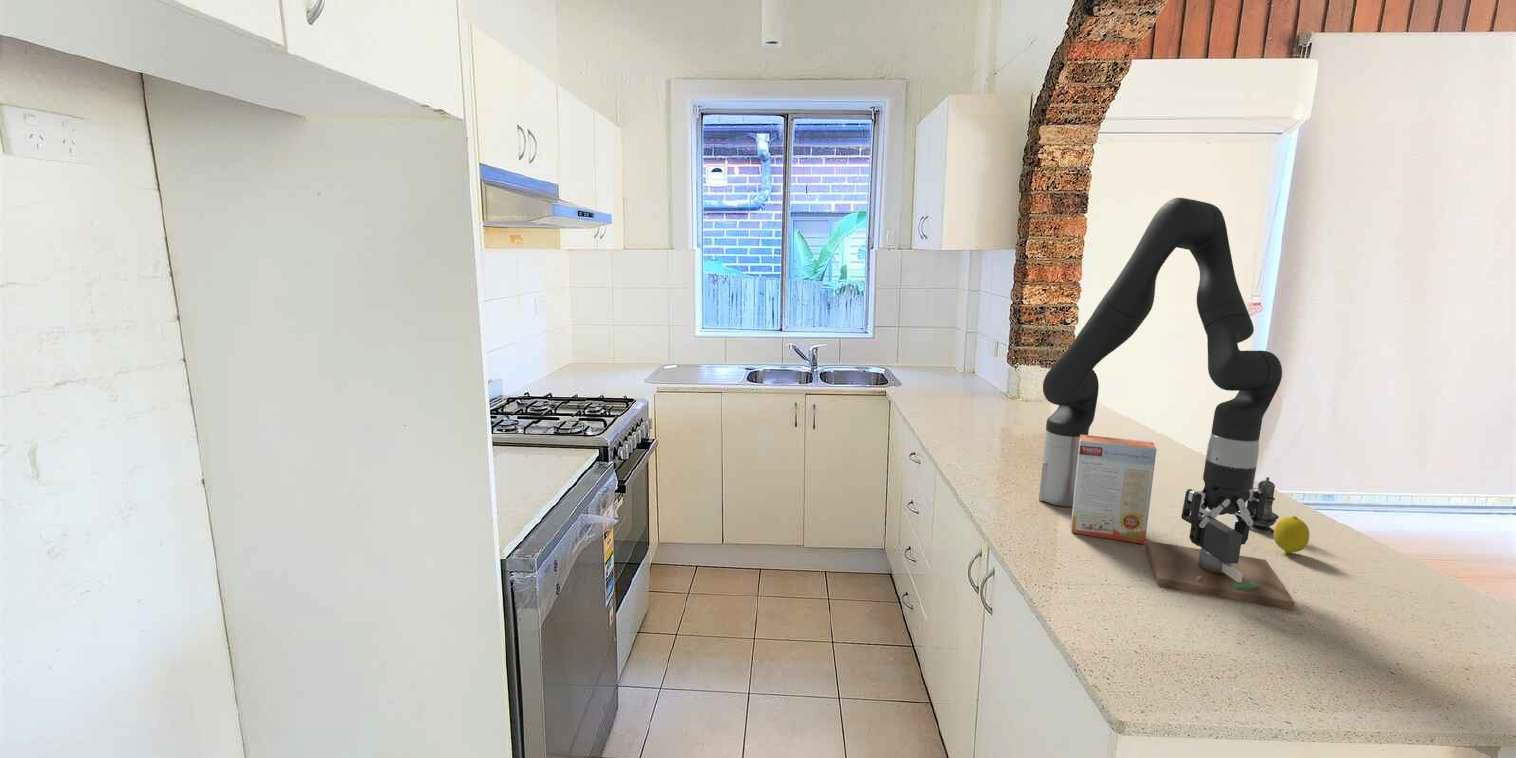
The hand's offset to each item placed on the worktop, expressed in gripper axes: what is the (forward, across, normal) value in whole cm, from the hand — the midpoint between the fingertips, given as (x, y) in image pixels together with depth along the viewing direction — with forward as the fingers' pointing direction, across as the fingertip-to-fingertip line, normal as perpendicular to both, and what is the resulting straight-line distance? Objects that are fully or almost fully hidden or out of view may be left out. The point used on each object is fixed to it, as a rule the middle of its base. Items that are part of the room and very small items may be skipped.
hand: (1217, 543), depth 122 cm
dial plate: (+7, 0, 0) cm, 7 cm away
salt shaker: (+7, +27, +19) cm, 33 cm away
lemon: (+7, +22, +8) cm, 25 cm away
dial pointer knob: (+5, 0, -1) cm, 5 cm away
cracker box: (+7, -9, +19) cm, 22 cm away
